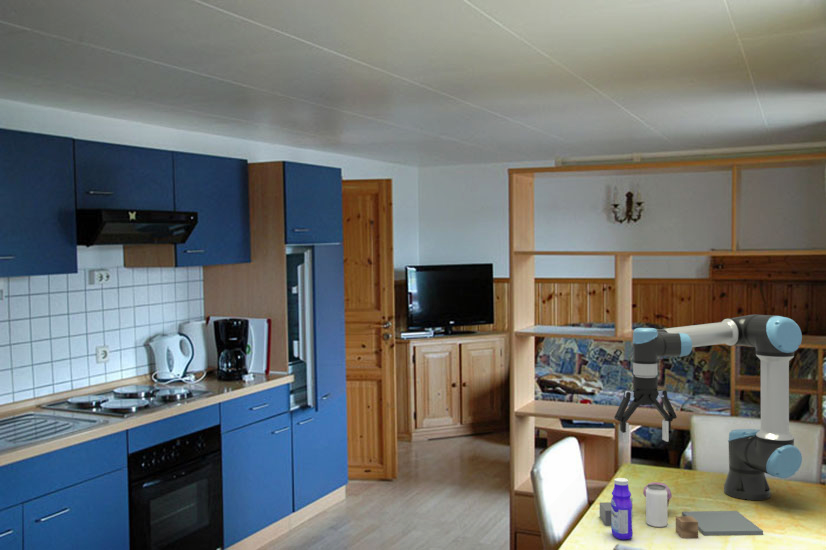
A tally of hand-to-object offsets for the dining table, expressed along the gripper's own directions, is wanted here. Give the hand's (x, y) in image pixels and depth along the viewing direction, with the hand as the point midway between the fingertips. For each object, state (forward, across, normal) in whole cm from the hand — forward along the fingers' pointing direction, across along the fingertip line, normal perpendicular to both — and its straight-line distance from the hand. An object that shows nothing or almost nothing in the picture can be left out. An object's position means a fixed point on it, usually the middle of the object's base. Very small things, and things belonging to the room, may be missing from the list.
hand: (645, 441), depth 233 cm
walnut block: (+26, -6, +14) cm, 30 cm away
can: (+26, -2, +4) cm, 26 cm away
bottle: (+26, +14, +12) cm, 32 cm away
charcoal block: (+26, +12, -1) cm, 29 cm away
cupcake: (+26, -7, -6) cm, 27 cm away
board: (+25, -21, +8) cm, 34 cm away
